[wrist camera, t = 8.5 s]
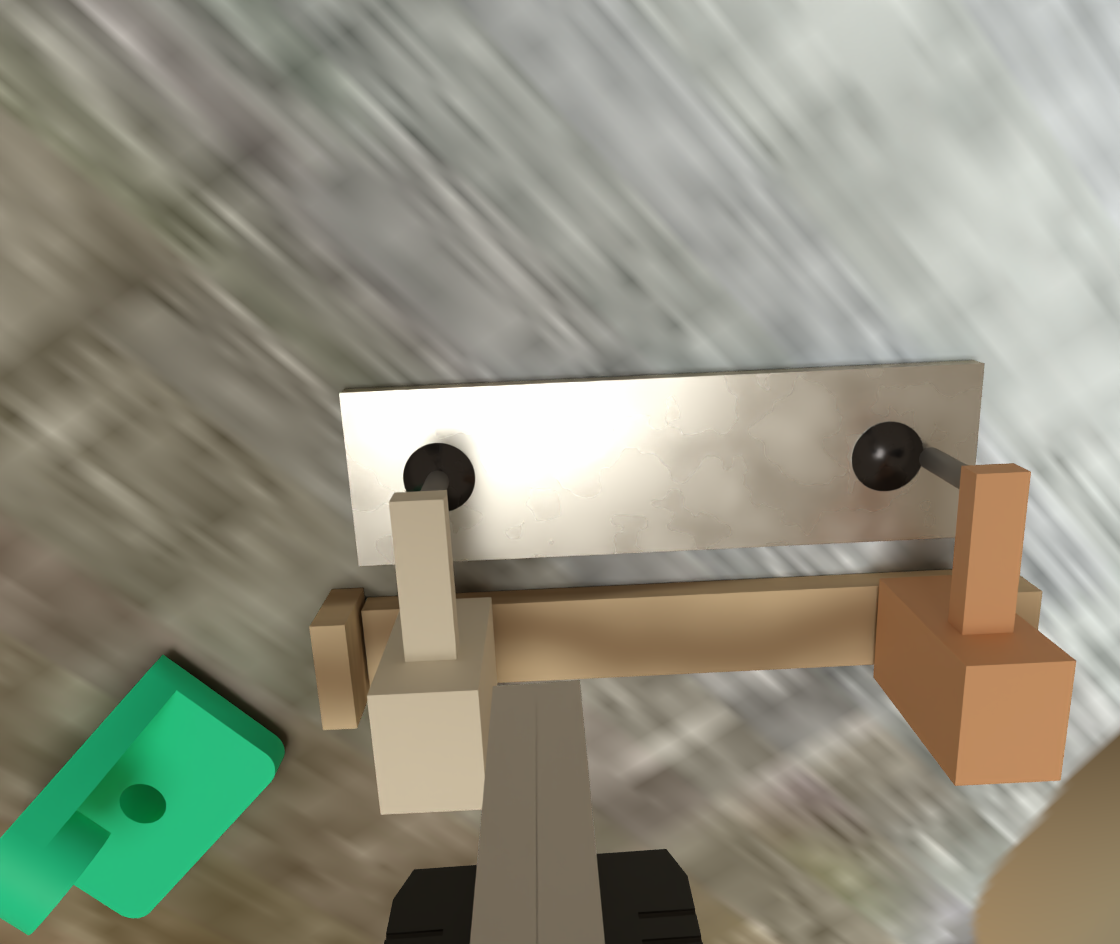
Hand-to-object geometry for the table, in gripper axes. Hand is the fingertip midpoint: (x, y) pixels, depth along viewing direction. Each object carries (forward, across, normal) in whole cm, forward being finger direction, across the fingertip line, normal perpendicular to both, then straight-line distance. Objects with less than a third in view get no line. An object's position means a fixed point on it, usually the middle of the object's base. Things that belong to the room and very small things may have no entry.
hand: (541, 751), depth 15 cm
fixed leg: (+23, -5, -7) cm, 24 cm away
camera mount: (+25, -20, -17) cm, 36 cm away
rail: (+24, +5, -10) cm, 27 cm away
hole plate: (+24, +6, -2) cm, 25 cm away
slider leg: (+23, +17, -7) cm, 29 cm away
